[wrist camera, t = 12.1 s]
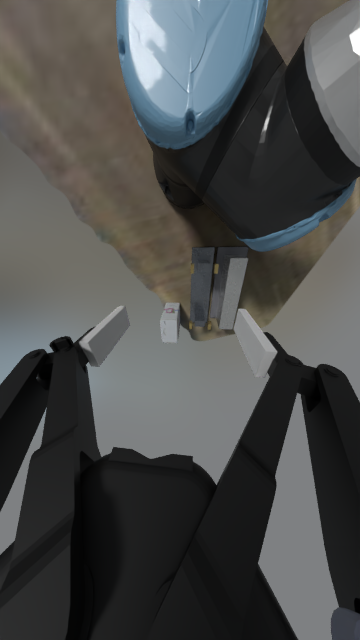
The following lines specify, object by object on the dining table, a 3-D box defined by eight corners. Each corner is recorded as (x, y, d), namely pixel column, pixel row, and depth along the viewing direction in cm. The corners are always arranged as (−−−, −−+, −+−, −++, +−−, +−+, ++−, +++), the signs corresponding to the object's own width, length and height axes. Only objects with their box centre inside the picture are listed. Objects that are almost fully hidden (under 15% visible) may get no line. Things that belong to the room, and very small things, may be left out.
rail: (224, 255, 37) (230, 258, 31) (239, 255, 37) (248, 258, 31) (215, 317, 47) (218, 328, 41) (227, 318, 47) (232, 329, 41)
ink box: (181, 323, 50) (177, 344, 40) (167, 323, 51) (161, 343, 41) (180, 302, 46) (176, 320, 36) (166, 302, 46) (158, 319, 36)
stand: (191, 247, 37) (191, 249, 29) (214, 247, 37) (220, 249, 28) (189, 320, 50) (189, 336, 41) (206, 321, 49) (209, 337, 41)
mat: (217, 247, 37) (218, 247, 36) (248, 246, 36) (248, 246, 35) (209, 316, 48) (210, 317, 47) (232, 317, 47) (233, 318, 47)
